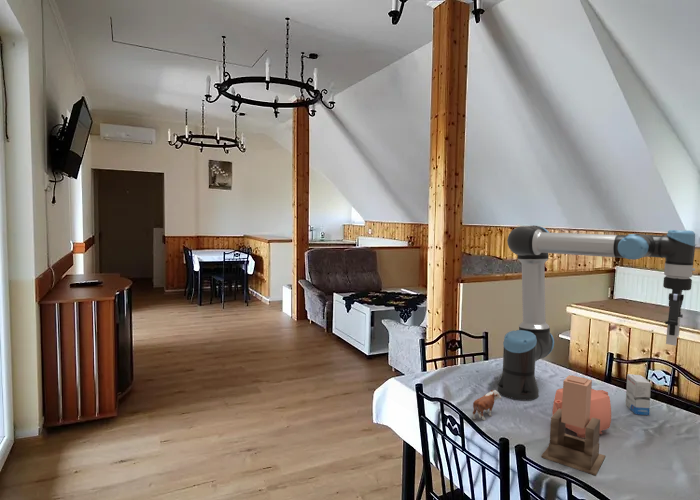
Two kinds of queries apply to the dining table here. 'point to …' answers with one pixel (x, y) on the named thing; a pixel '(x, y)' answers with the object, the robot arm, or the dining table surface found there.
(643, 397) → the ink box
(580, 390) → the block
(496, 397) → the bull figurine
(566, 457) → the wooden slotted stand
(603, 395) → the teapot
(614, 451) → the dining table surface
